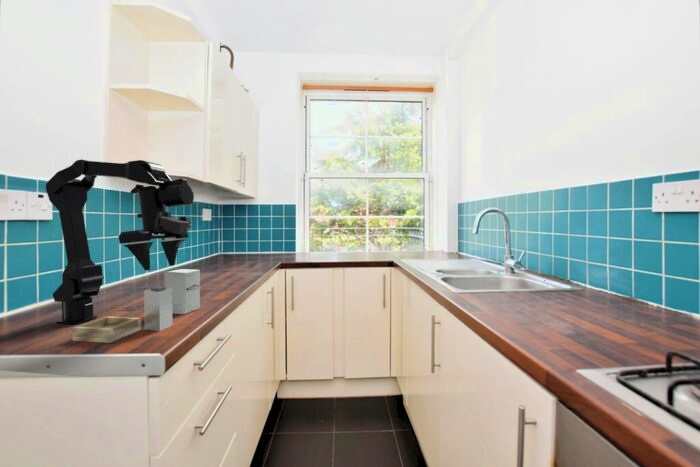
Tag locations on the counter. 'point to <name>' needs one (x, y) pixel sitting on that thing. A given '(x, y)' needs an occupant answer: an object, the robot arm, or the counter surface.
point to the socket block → (158, 308)
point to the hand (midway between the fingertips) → (160, 267)
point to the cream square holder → (106, 329)
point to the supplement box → (183, 289)
